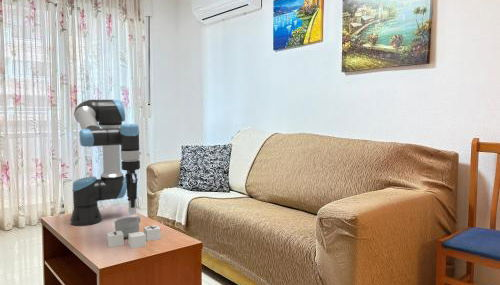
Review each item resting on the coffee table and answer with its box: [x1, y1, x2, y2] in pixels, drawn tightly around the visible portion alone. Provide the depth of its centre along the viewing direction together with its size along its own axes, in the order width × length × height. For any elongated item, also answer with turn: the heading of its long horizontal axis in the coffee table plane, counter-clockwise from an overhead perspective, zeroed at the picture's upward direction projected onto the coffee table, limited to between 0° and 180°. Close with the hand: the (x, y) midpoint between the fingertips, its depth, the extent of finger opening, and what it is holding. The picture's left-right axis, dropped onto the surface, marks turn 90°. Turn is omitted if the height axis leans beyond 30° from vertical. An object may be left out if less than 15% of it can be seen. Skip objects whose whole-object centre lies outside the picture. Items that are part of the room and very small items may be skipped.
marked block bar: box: [106, 230, 125, 249], centre depth 162 cm, size 6×6×5 cm
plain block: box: [127, 231, 147, 250], centre depth 160 cm, size 6×6×5 cm
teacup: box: [114, 215, 141, 239], centre depth 174 cm, size 14×11×8 cm
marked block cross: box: [143, 224, 162, 242], centre depth 169 cm, size 6×6×5 cm
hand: (132, 214), depth 160 cm, fingers closed
